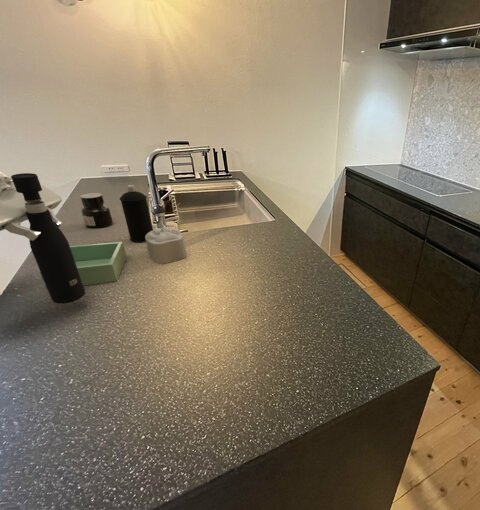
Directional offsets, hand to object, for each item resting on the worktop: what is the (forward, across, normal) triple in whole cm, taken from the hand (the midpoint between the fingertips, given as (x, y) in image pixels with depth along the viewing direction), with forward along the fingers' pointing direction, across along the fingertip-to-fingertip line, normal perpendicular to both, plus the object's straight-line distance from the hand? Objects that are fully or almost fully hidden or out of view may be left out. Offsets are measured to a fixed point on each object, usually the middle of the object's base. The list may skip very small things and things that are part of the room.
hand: (48, 231), depth 68 cm
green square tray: (+10, -18, -20) cm, 28 cm away
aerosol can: (+12, -43, -18) cm, 48 cm away
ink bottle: (-4, -54, -34) cm, 64 cm away
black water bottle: (+12, 0, -13) cm, 18 cm away
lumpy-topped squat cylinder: (+21, -31, -8) cm, 38 cm away
